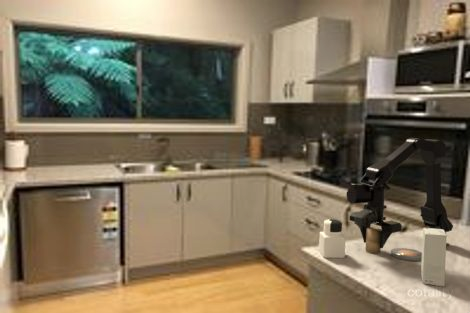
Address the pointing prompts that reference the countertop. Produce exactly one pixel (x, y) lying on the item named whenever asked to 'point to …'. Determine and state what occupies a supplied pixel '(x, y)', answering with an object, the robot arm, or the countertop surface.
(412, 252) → the coaster
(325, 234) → the medicine bottle
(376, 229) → the oak canister
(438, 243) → the skincare box
